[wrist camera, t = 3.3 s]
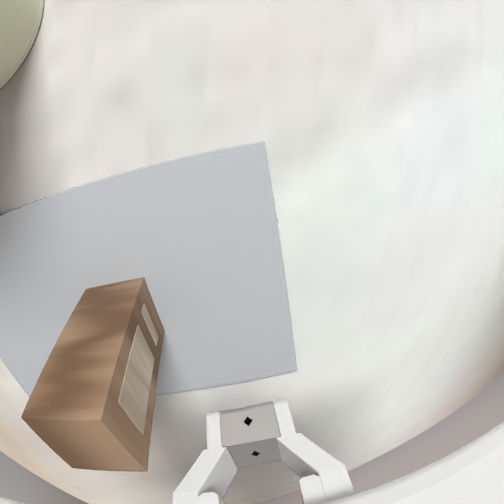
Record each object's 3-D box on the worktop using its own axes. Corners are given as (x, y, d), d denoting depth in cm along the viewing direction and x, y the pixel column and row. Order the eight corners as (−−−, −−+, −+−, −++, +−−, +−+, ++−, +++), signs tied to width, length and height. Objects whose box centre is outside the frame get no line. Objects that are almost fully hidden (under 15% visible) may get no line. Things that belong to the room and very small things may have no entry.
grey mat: (263, 141, 16) (264, 141, 15) (295, 366, 23) (297, 370, 22) (-56, 240, 15) (-59, 243, 15) (32, 396, 22) (31, 399, 22)
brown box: (144, 276, 18) (102, 420, 9) (165, 330, 19) (148, 471, 10) (85, 288, 18) (21, 417, 9) (110, 338, 19) (72, 467, 10)
